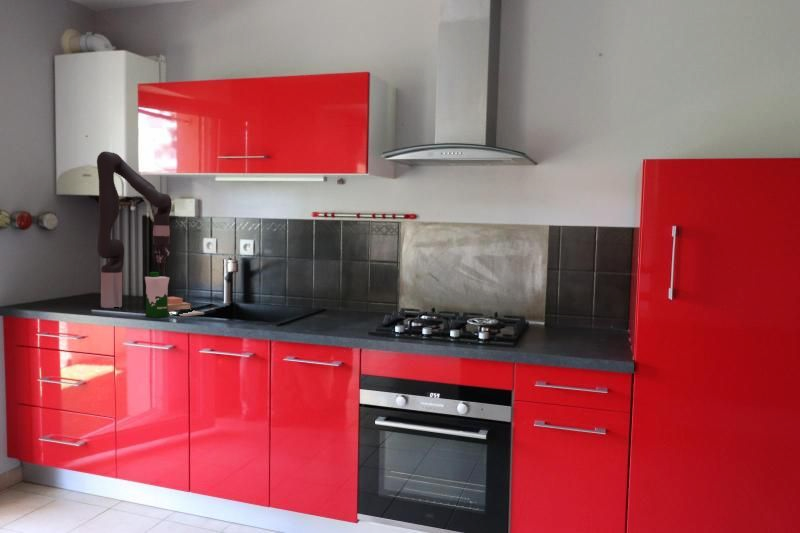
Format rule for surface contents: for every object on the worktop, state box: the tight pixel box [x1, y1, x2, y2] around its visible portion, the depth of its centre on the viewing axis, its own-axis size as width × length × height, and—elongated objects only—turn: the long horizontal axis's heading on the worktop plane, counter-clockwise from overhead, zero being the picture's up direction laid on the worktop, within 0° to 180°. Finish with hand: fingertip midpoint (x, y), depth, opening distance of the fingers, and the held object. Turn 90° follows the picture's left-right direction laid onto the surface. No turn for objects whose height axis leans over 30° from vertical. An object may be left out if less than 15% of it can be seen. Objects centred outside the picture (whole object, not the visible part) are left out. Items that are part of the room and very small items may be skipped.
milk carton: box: [144, 271, 170, 319], centre depth 300 cm, size 9×9×20 cm
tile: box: [168, 296, 184, 304], centre depth 317 cm, size 8×6×2 cm
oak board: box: [168, 301, 191, 313], centre depth 317 cm, size 12×12×4 cm
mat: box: [179, 310, 205, 317], centre depth 310 cm, size 11×12×1 cm
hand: (161, 270), depth 322 cm, fingers closed
